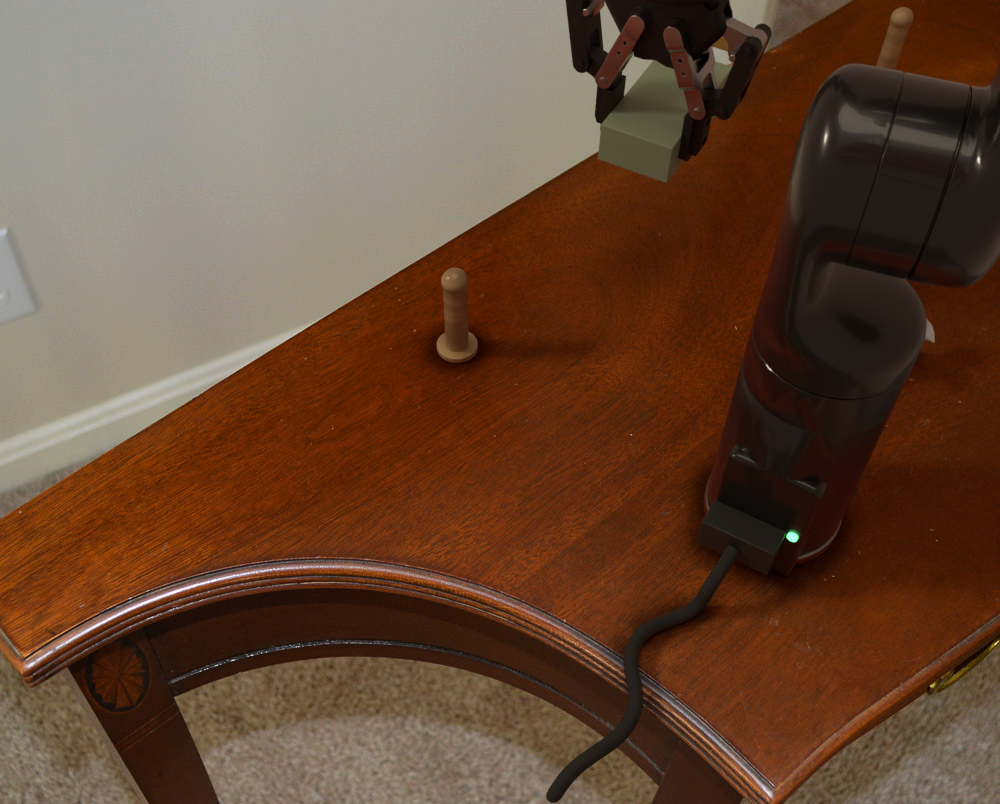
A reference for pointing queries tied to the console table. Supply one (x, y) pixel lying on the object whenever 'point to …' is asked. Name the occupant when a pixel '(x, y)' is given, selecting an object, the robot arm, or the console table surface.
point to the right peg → (895, 38)
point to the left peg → (456, 319)
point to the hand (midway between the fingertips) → (649, 140)
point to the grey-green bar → (651, 122)
